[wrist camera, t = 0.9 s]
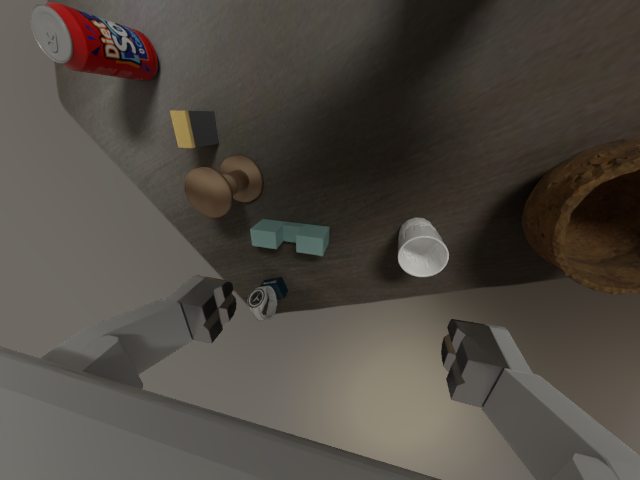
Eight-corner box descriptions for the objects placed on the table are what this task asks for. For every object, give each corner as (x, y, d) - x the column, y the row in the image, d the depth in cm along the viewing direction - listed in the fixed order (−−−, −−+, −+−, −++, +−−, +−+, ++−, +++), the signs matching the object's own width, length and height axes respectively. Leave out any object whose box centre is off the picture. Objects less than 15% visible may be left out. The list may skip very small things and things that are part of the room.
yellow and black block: (200, 111, 49) (169, 110, 42) (213, 111, 48) (184, 110, 41) (206, 143, 51) (178, 147, 44) (218, 143, 51) (192, 148, 44)
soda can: (126, 71, 49) (31, 54, 36) (125, 23, 45) (18, -15, 32) (160, 88, 48) (77, 78, 35) (162, 42, 44) (70, 12, 32)
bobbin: (218, 153, 52) (175, 162, 41) (261, 156, 50) (227, 166, 39) (225, 198, 56) (189, 217, 46) (265, 202, 54) (236, 223, 44)
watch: (278, 271, 62) (259, 298, 53) (290, 295, 65) (274, 326, 56) (261, 274, 64) (239, 301, 55) (273, 298, 67) (254, 328, 58)
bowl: (578, 107, 35) (691, 101, 22) (684, 175, 35) (855, 208, 22) (476, 210, 44) (513, 248, 31) (561, 262, 45) (631, 321, 32)
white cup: (403, 254, 52) (406, 281, 43) (390, 222, 49) (391, 244, 41) (442, 243, 49) (454, 270, 40) (430, 208, 46) (441, 229, 37)
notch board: (262, 218, 56) (250, 229, 51) (329, 226, 53) (323, 238, 48) (264, 234, 58) (252, 245, 53) (328, 242, 55) (322, 256, 50)
